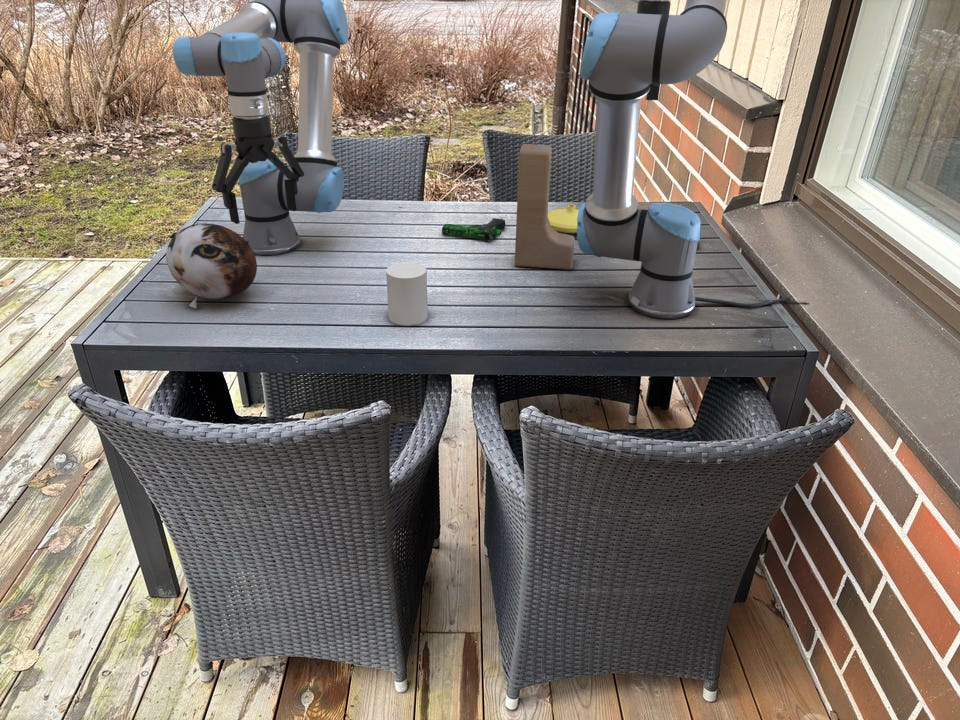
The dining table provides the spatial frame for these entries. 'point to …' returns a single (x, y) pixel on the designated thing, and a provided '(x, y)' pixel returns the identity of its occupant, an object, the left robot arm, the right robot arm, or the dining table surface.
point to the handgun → (476, 230)
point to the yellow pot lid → (564, 219)
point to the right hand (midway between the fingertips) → (642, 94)
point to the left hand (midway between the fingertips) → (264, 215)
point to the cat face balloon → (211, 261)
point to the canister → (407, 293)
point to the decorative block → (538, 214)
